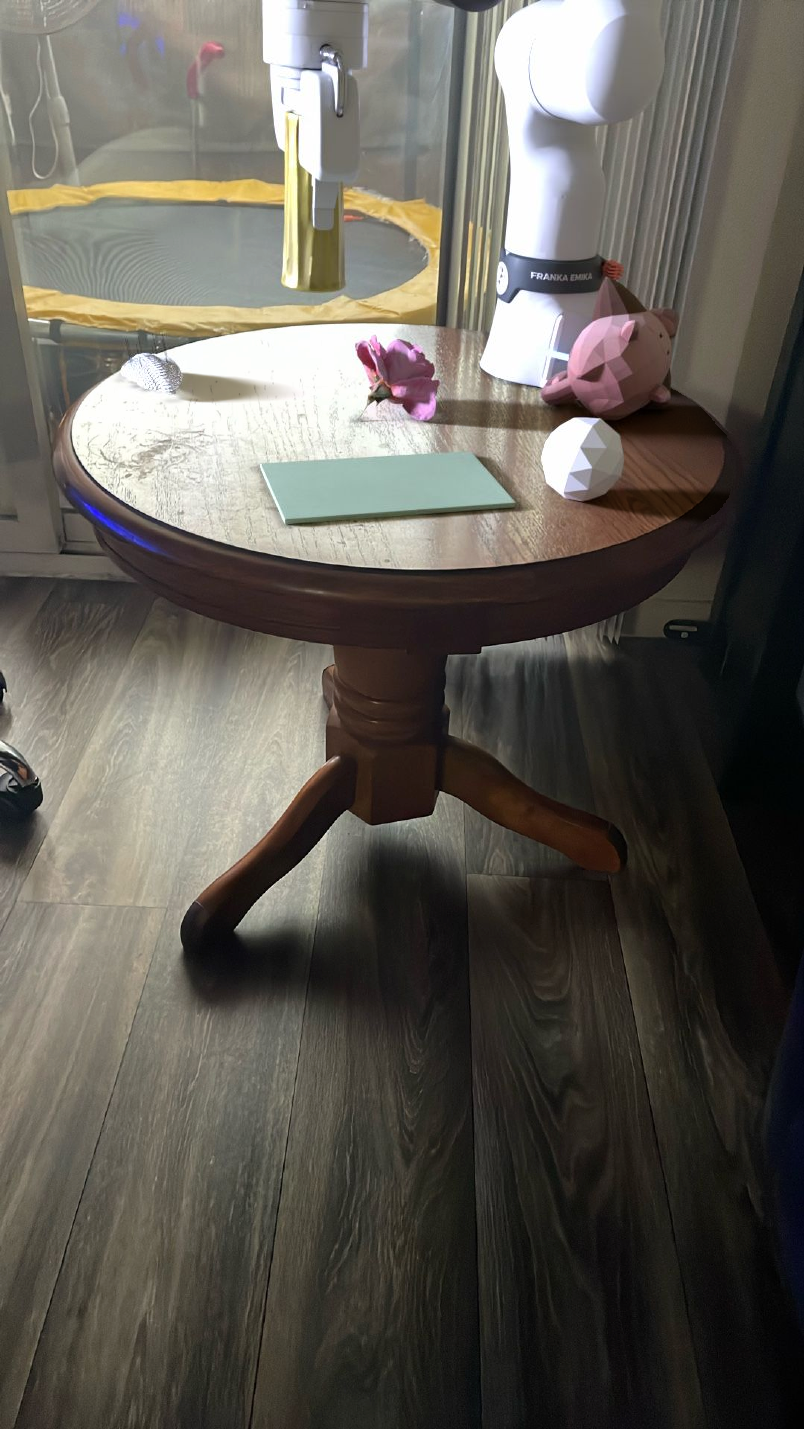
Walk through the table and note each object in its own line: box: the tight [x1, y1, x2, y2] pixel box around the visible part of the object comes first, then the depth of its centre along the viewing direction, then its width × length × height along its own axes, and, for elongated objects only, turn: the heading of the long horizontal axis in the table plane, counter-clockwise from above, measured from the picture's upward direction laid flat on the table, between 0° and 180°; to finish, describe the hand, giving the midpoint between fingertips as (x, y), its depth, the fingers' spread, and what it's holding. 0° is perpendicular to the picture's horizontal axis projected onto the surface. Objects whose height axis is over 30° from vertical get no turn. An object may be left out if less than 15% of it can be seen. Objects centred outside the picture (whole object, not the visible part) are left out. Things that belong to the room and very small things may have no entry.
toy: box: [539, 277, 680, 421], centre depth 118 cm, size 17×16×15 cm
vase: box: [280, 110, 347, 294], centre depth 94 cm, size 6×6×14 cm
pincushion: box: [120, 332, 184, 395], centre depth 118 cm, size 12×6×6 cm, turn 32°
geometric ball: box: [541, 417, 625, 502], centre depth 98 cm, size 8×8×8 cm
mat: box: [259, 450, 516, 525], centre depth 99 cm, size 22×13×1 cm, turn 106°
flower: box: [354, 334, 441, 422], centre depth 115 cm, size 11×10×10 cm
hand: (314, 221), depth 94 cm, fingers closed on vase, 5 cm apart
